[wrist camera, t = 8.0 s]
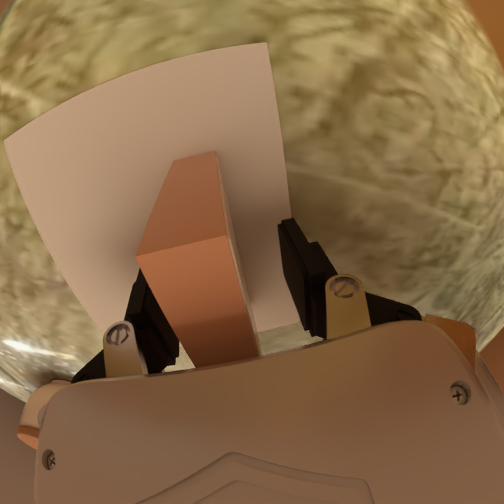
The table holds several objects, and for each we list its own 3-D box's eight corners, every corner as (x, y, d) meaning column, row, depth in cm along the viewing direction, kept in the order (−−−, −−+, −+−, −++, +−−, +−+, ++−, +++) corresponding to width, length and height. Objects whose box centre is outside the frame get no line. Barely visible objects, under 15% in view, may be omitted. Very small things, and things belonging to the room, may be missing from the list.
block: (251, 304, 16) (276, 414, 10) (220, 311, 16) (233, 422, 10) (216, 150, 11) (229, 234, 5) (173, 161, 11) (135, 256, 5)
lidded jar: (34, 351, 17) (9, 441, 9) (135, 396, 22) (132, 484, 14) (31, 388, 21) (17, 454, 13) (107, 421, 25) (103, 486, 18)
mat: (297, 316, 18) (299, 322, 17) (121, 349, 17) (120, 355, 17) (263, 44, 9) (266, 42, 8) (8, 138, 8) (3, 140, 8)
